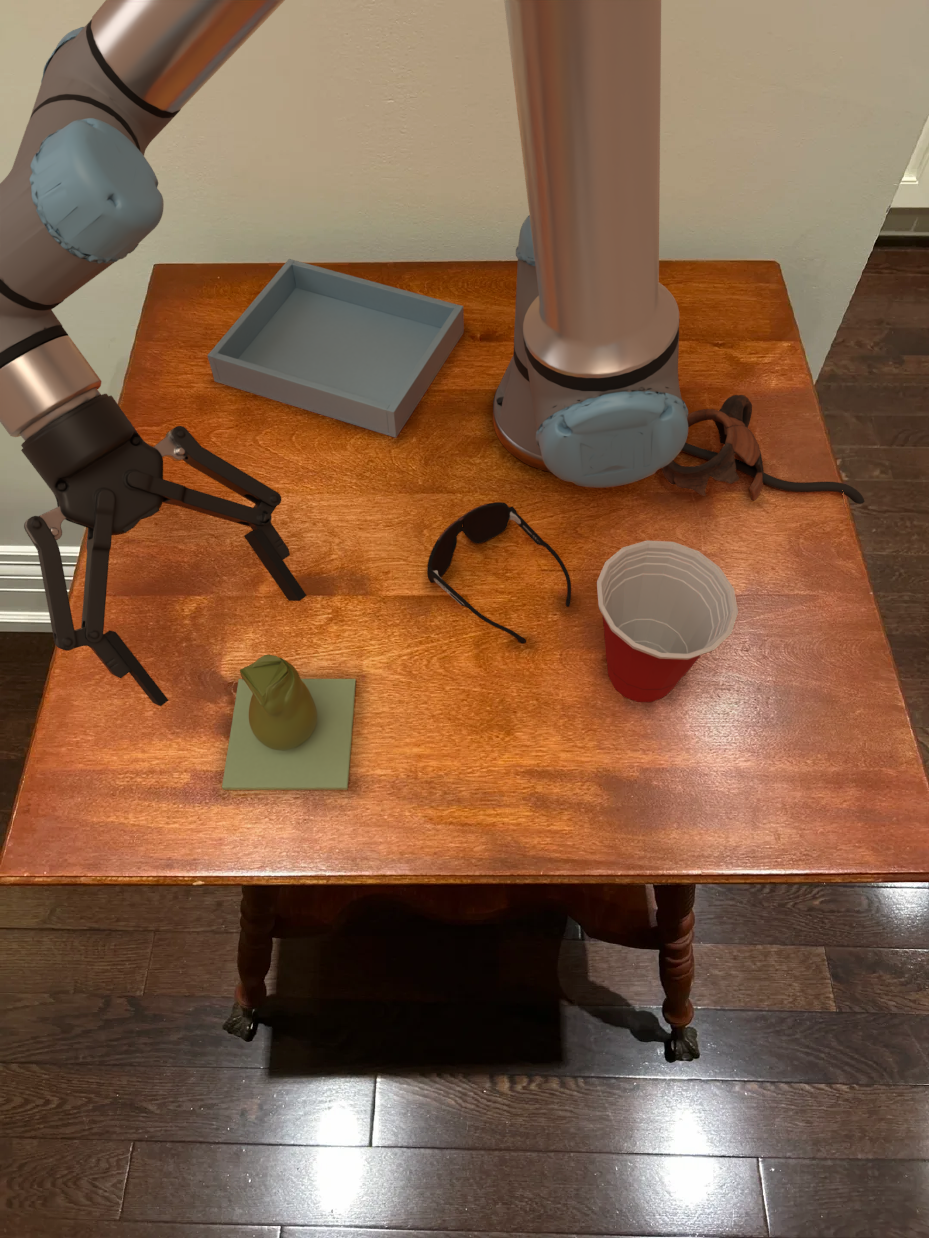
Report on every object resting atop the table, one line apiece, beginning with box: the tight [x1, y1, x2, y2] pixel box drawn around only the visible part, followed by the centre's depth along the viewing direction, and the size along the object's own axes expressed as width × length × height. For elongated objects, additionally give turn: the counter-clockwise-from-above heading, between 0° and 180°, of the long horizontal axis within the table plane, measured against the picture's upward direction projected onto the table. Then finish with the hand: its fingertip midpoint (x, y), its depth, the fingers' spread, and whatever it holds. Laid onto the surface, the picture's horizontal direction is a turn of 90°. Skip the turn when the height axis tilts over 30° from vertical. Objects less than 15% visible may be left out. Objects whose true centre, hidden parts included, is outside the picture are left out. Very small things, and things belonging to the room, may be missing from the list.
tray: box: [207, 258, 465, 439], centre depth 103 cm, size 22×18×4 cm
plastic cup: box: [596, 540, 739, 703], centre depth 77 cm, size 11×11×12 cm
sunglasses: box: [426, 501, 572, 645], centre depth 85 cm, size 11×12×5 cm
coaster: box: [221, 678, 357, 791], centre depth 79 cm, size 10×10×1 cm
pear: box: [239, 654, 317, 750], centre depth 74 cm, size 6×5×10 cm
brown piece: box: [661, 394, 765, 502], centre depth 93 cm, size 12×10×8 cm
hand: (232, 648), depth 76 cm, fingers open, 13 cm apart
